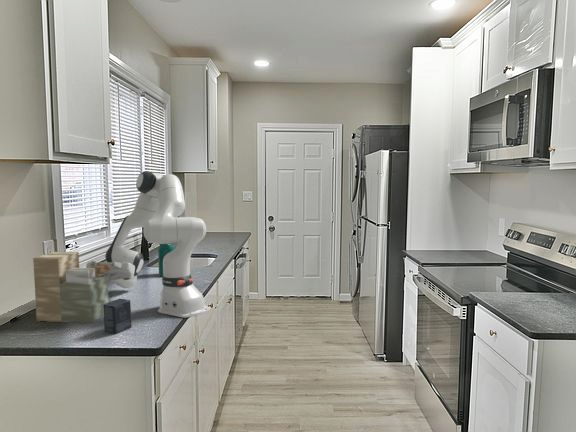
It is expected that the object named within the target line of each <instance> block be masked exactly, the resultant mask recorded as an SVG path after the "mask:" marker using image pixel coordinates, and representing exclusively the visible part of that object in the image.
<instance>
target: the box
mask: <svg viewBox="0 0 576 432" xmlns="http://www.w3.org/2000/svg"><path fill="white" fill-rule="evenodd" d="M103 306H104V315H103V321H104V323H103V324H104V332H105V333H108V334H112V333H113V335H118V334H119V333H122V332H124V331H126V330H129V329H130V328H132V312H131V311H132V307H131V299H125V298H118V299H115V300H112V301H109V303H106V304H103Z"/></svg>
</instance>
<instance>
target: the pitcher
mask: <svg viewBox="0 0 576 432" xmlns="http://www.w3.org/2000/svg"><path fill="white" fill-rule="evenodd" d="M176 247H177V246H176V245H175V244H172V243H171V244H159V247H158V249H157V253H158V255H157V256H158V257H157V259H158V261H157V262H158V277H161V278H162V276H163V258H164V257H165V255H166V254H168V253H169V252H171V251H173V250H175V249H176Z"/></svg>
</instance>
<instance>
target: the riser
mask: <svg viewBox="0 0 576 432" xmlns="http://www.w3.org/2000/svg"><path fill="white" fill-rule="evenodd" d="M32 260H33V261H32V262H33V276H34V277H33V280H34V294H35V295H34V296H35V315H36V322H40V321H47V322H46V323H49V322H51V323H81V324H82V323H85V324H90V323H93V322H95V321H97V320H98V319H99V318H101V317H102V316H103V317H104V306H103V304H106V303H109V302H110V301H109V282H108V281H109V279H108V276H106V275H100V276H98V277H95V281H93V282H91V283H89V284H74V283H66V270H69V269H71V268H80V254H79V251H54V252H53V251H52V252H50V253H46V254H43V255H39V256H35V257H33V258H32Z"/></svg>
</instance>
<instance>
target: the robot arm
mask: <svg viewBox="0 0 576 432" xmlns="http://www.w3.org/2000/svg"><path fill="white" fill-rule="evenodd" d="M135 186H136V189H137V191H138V192H140V193H139V195H138V197H137V200H136V203H135V206H134V209H133V210H132V212H131V213H130V214H129V215H126V216H125V217H124V219H123V220H122V222H121V224H120V225H119V227H118V230H117V232H116V234H115V236H114V238H113V240H112V242H111V244H110V246H109V247H108V248H107V250H106V252H105V255H104V258H105V261H106V262H99V261H98V262H96V261H95V260H91V261H89V262H87V263H86V266H85V268H92V267H94V266H97V265H99V264H110V271H108V272H106V273H104V274H103V275H104V276H108V281H111V282H112V283H114V284H116V285H117V286H119V287H120V288H123V289H131V288H132V287H135V286H136V284H137V281H138V275H139V274H140V273H141V271H142V270H143V269H144V266H145V258H144V255H143V253H142V252H138V251H135V250H134V249H133V250H132V249H129V248H125V247H124V245H125V242H126V240H127V238H128V236H129V234H130V232H131V231H132V230H135V229H141V228H143V237H144V238H145V240H146V241H147V242H148V243H150V244H157V245H160V244H171V245H172V244H176V245H177V246H175V247H176V249H175V250H173V251H171V252H169V253H168V254H166V255H165V257H164V258H163V276H162V277H161V283H162V290H161V292H160V301H159V308H158V310H157V313H159V314H163V315H167V316H174V317H177V318H192V317H193V318H194V317H197V316H200V315H204V314H206V313H208V312H209V311H210V310H211V307H209V306H208V305H206V304H205V298H204V296H203V293H202V292H200V291H199V290H198V288H197V287H196V286H195V285H194V281H195V280H194V279H195V278H194V277H192V275H191V257H192V253H193V251H194V249H195V248H196V246H197V244H199V243H200V242H201V241H202V240H203V239H204V238H205V237H206V233H207V225H206V222H205V221H204V220H203V219H202V218H199V217H193V216H181V215H182V214H183V213H184V211H185V209H186V201H185V195H184V186H183V183H181V181H180V178H179V177H178V176H177V175H175V174H171V173H169V174H164V175H163V174H160V173H155V172H153V171H147V170H145V171H142V172H140V174H138V176H137V179H136V184H135Z"/></svg>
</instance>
